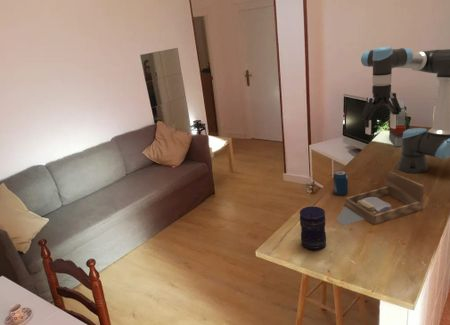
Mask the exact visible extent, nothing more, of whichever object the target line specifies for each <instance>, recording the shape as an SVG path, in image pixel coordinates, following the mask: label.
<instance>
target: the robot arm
mask: <svg viewBox="0 0 450 325" xmlns="http://www.w3.org/2000/svg"><path fill="white" fill-rule="evenodd" d="M360 62H361V64H362V66H364V67H368V68H370V67H371V68H372V86H371V88H372V97H366V102H365V105H364V107H363V111H361V112H362V113H361V114H360V116H359V117H360V120H363V122H364V123H363V124H364V125H363V126H364V128H365V129H364V130H365V134H366V135H369V136H370V135H372V120H371V118H372V117H373V115H374V114H375V112H376V110H377V109H378V108H380V107H382V106H385V107H387V109H389V112H390V111H391V112H392V113H393V114H391V115H390V114H389V120H390V128H393V129H396V121H397V114H399V112H401V108H400V105H399V103H398V101H397V100H398V99H397V93H396V92H392V84H391V83H392V77H393V76H392V70H393V69H394V68H396V69H411V70H412V71H414V72H415V71H416V72H421V73H422V72H423V73H428V74H436V78H437V80H438V81H439V82H438V87H437V88H438V89H437V96H436V100H435V108H434V113H433V118H432V119H433V120H432V125H431V128H430V129H427V128H425V127H414V128H409V129H405V131H404V132H403V138H402V146H401V156H400V158H399V161H398V163H397V169H398V170H399V171H402V172H404V173H409V174H410V173H411V174H419V173H421V174H422V173H425V172H427V171H428V168H429V164H428V162H427V158H426V156H430V157H433V158H436V159H444V160H445V159H448V158H450V49H449V48H447V49H431V50H422V51H421V50H419V51H414V52H413V51H412V50H411V49H410V48H408V47H400V48H393V47H392V46H381V47H376V48H373V49H370V50H369V49H368V50H365V51H364V52H363V53H362V54H361V58H360ZM391 103H392V104H393V105H392V104H391ZM390 128H389V129H390Z"/></svg>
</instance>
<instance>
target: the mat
mask: <svg viewBox="0 0 450 325" xmlns="http://www.w3.org/2000/svg"><path fill="white" fill-rule="evenodd" d="M364 220H365V221H366V219H364V218H363V217H361V216H360V215H358V214H357V213H355V212H354V211H352V210H351V209H349V208H348V207H346V206H345V205H344V206H343V208H342V210H341V212H340V214H339V215H338V216H337V218H336V222H338V223H340V225H341V226H347V225H348V226H349V225H350V224H354V223H358V222H362V221H364Z"/></svg>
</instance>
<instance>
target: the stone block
mask: <svg viewBox="0 0 450 325" xmlns="http://www.w3.org/2000/svg"><path fill="white" fill-rule="evenodd" d="M363 200H365V201H366V202H368V203H370V204H371V205H373V206H374V211H375V212H377V214H378V213H381V212H384V211H388V210H391V209H392V204H391V203H389V202H387V201H384V200H382V199H380V197H378V198H377V197H368V198H365V199H363Z"/></svg>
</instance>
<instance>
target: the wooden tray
mask: <svg viewBox="0 0 450 325" xmlns="http://www.w3.org/2000/svg"><path fill="white" fill-rule="evenodd" d="M386 174H387V176H386V177H387V178H386V179H387V180H386V186H383V187H380V188H375V189H373V190H368V191H366V192H362V193H359V194H354V195H351V196H347V197H344V199H343V200H344V207H345V206H346V207H347V208H349V209H350V210H352V211H353V212H355V213H356V214H358V215H359V216H361V217H362V218H364V219H365V221H367V222H369V223H371V224H372V225H373V226H374V225H377V224H379V223H384V222H387V221H390V220H393V219H396V218H400V217H403V216H406V215H409V214H412V213H417V212H419V211H423V200H424V190H425V189H424V187H425V186H424V184H421V183H419V182H417V181H414V180H412V179H409V178H407V177H405V176H402V175H400V174H398V173H396V172H394V171H391V170H388V171H387V173H386ZM388 195H389V196H391V197H393V198H395V199H397V200H399V202H400V201H401V202H402V203H404V204H405V205H401V206H398V207H395V208H391V210H388V211H384V212H381V213H378V214H375V215H374V214H372V213H371V212H369V211H368V210H366V209H364V208H363V207H361V206H359V205H358V204H357V201H359V200H363V199H365V198H368V197H377V198H381V197H385V196H388Z"/></svg>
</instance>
